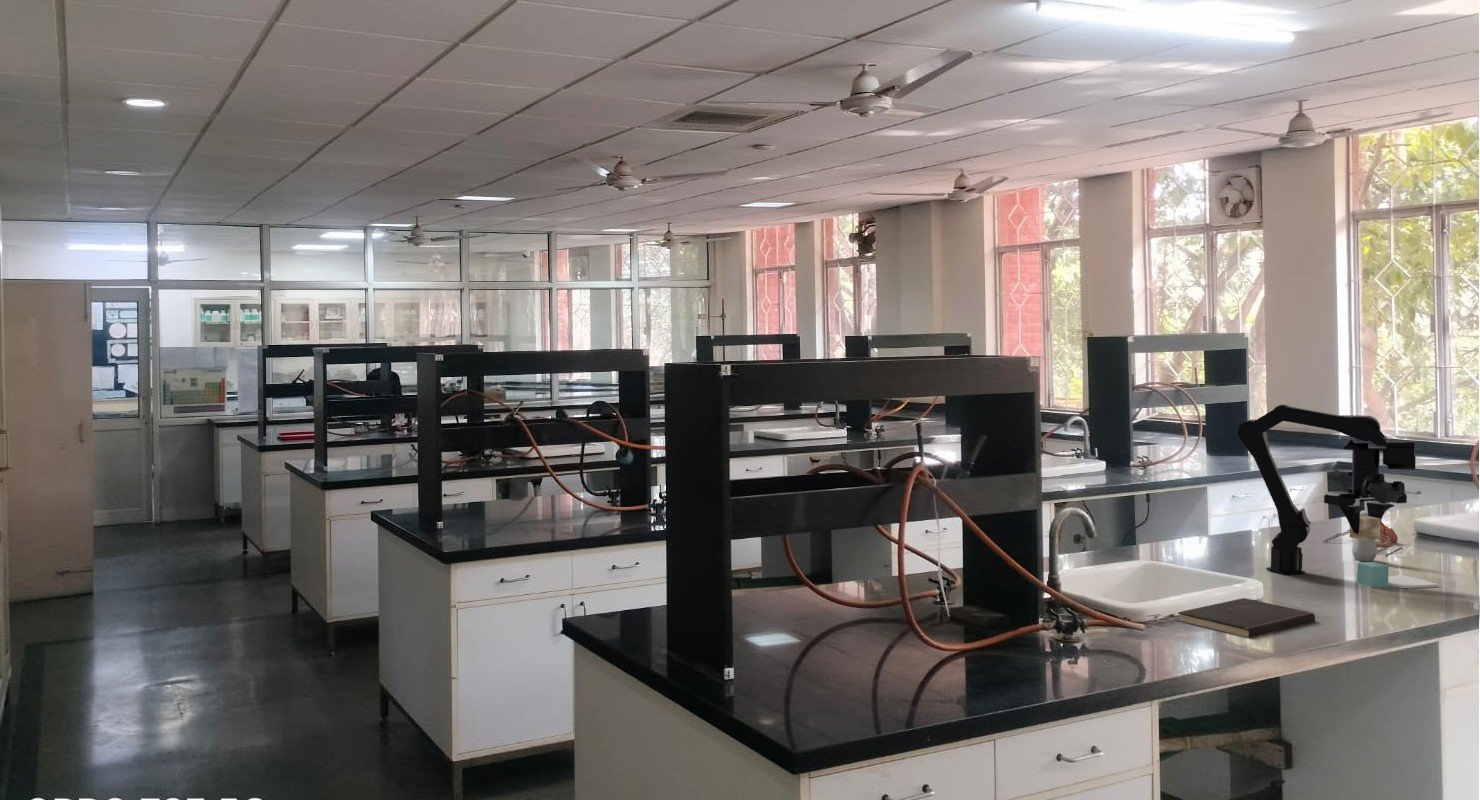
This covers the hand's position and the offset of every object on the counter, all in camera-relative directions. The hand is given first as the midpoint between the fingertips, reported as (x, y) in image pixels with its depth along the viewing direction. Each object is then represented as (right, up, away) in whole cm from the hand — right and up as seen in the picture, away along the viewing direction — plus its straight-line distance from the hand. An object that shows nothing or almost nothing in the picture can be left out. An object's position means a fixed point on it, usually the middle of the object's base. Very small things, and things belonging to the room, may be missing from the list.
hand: (1364, 533), depth 268 cm
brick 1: (0, -1, 0) cm, 1 cm away
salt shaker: (+13, -10, +24) cm, 29 cm away
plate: (+7, -12, -3) cm, 14 cm away
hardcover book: (-46, -14, -38) cm, 61 cm away
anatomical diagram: (+26, -10, +42) cm, 50 cm away
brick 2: (-1, -12, -5) cm, 13 cm away
